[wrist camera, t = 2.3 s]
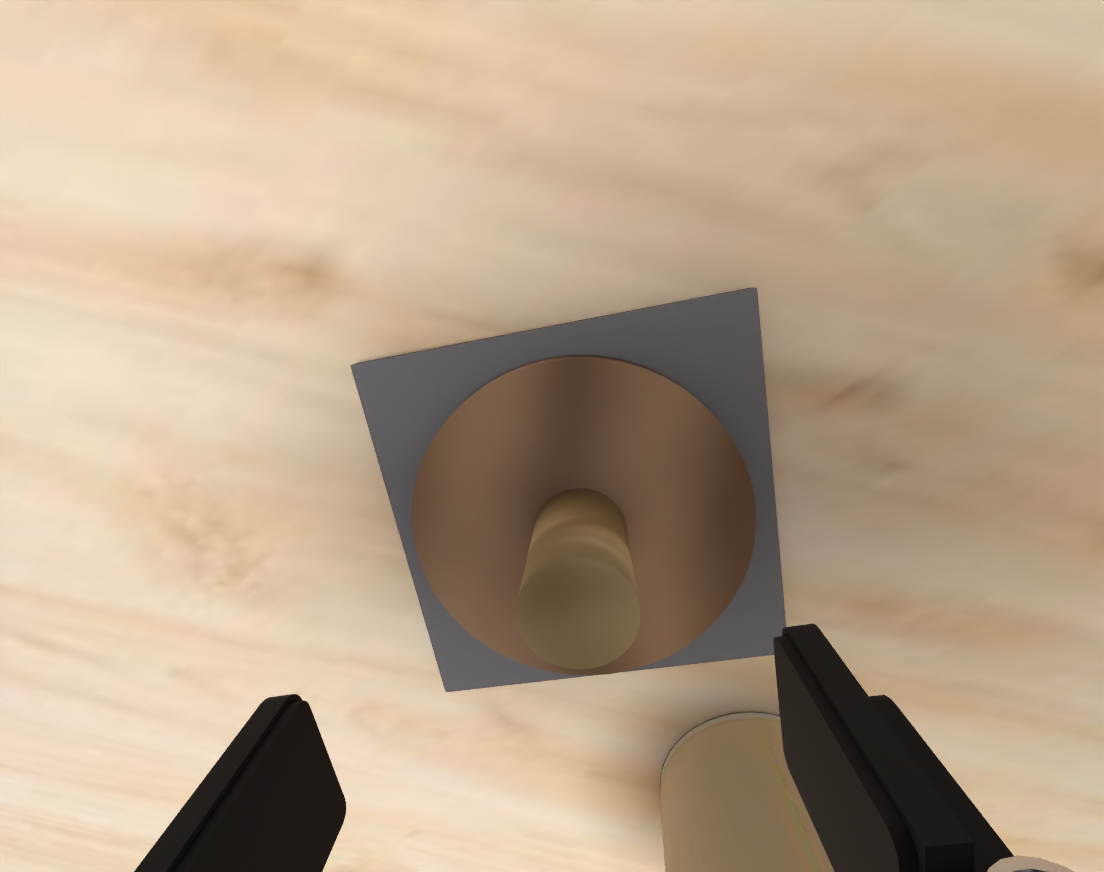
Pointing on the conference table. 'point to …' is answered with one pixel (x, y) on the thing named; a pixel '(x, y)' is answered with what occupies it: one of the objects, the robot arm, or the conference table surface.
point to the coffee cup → (736, 802)
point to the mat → (636, 336)
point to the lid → (584, 515)
